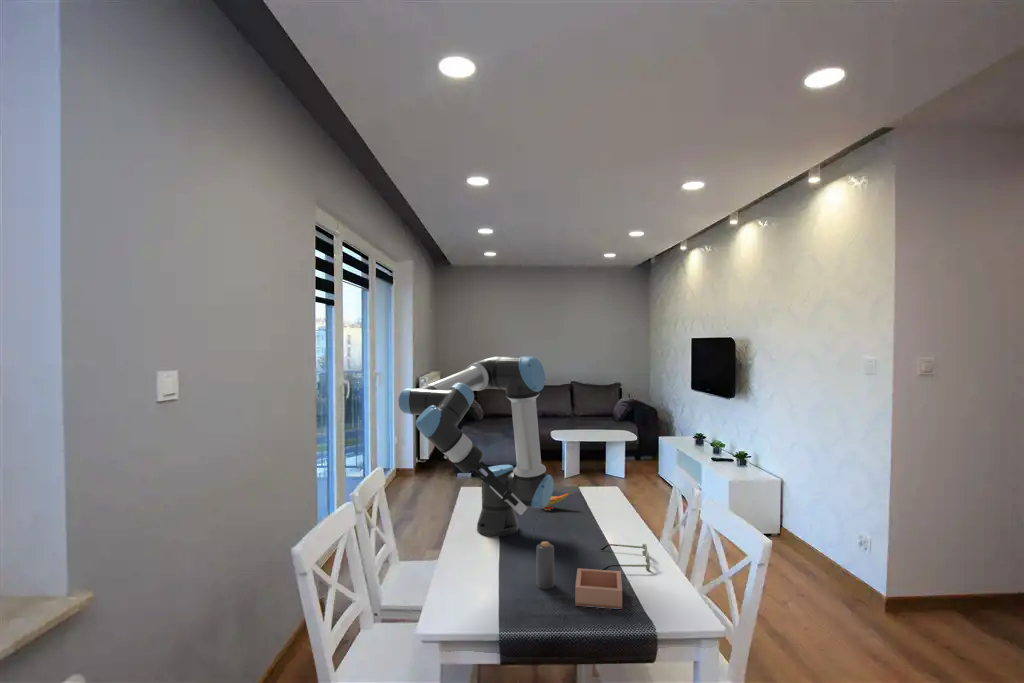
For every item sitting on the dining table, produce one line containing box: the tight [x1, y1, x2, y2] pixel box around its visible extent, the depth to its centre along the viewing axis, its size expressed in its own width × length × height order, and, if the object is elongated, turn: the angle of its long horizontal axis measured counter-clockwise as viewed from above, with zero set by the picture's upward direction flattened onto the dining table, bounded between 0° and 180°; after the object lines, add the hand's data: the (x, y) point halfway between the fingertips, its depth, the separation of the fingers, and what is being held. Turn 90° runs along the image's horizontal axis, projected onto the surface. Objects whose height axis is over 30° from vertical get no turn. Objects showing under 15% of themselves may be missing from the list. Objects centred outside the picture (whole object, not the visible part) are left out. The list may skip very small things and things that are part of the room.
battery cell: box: [535, 541, 555, 590], centre depth 153 cm, size 5×5×12 cm
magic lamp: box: [544, 492, 574, 510], centre depth 223 cm, size 7×18×11 cm, turn 85°
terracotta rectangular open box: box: [574, 567, 623, 610], centre depth 145 cm, size 12×12×5 cm
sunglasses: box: [599, 543, 651, 571], centre depth 169 cm, size 17×15×5 cm
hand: (515, 504), depth 150 cm, fingers open, 13 cm apart
